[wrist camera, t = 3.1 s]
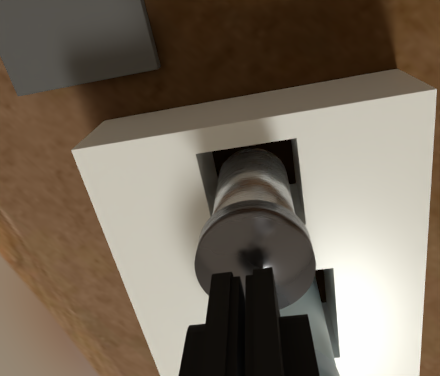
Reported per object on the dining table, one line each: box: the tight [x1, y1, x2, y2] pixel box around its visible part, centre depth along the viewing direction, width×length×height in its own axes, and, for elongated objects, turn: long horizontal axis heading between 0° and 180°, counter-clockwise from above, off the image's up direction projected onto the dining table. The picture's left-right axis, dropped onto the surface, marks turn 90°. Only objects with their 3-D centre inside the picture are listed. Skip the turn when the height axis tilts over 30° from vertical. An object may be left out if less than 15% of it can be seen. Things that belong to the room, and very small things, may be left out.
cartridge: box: [280, 276, 340, 376], centre depth 18 cm, size 5×5×10 cm
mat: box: [0, 0, 161, 96], centre depth 16 cm, size 7×7×1 cm
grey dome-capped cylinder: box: [194, 148, 316, 310], centre depth 14 cm, size 4×4×6 cm
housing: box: [71, 69, 437, 376], centre depth 21 cm, size 21×14×4 cm, turn 11°
